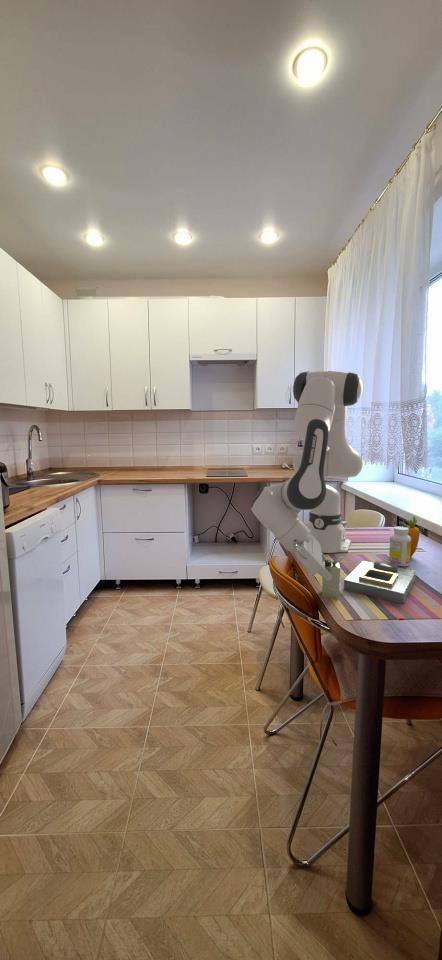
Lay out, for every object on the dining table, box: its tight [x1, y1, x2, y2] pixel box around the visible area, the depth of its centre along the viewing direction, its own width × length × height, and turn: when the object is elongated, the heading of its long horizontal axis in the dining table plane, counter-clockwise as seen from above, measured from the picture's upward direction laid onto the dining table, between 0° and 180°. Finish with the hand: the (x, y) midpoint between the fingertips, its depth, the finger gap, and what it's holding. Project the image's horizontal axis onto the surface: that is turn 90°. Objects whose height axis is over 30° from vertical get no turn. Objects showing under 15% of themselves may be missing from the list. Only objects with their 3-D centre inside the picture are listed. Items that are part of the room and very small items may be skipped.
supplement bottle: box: [388, 526, 411, 567], centre depth 133 cm, size 7×7×13 cm
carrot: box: [405, 516, 421, 558], centre depth 139 cm, size 5×5×15 cm
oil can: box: [321, 555, 343, 600], centre depth 107 cm, size 4×5×12 cm
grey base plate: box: [343, 560, 417, 604], centre depth 116 cm, size 22×16×4 cm
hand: (329, 572), depth 107 cm, fingers open, 8 cm apart
